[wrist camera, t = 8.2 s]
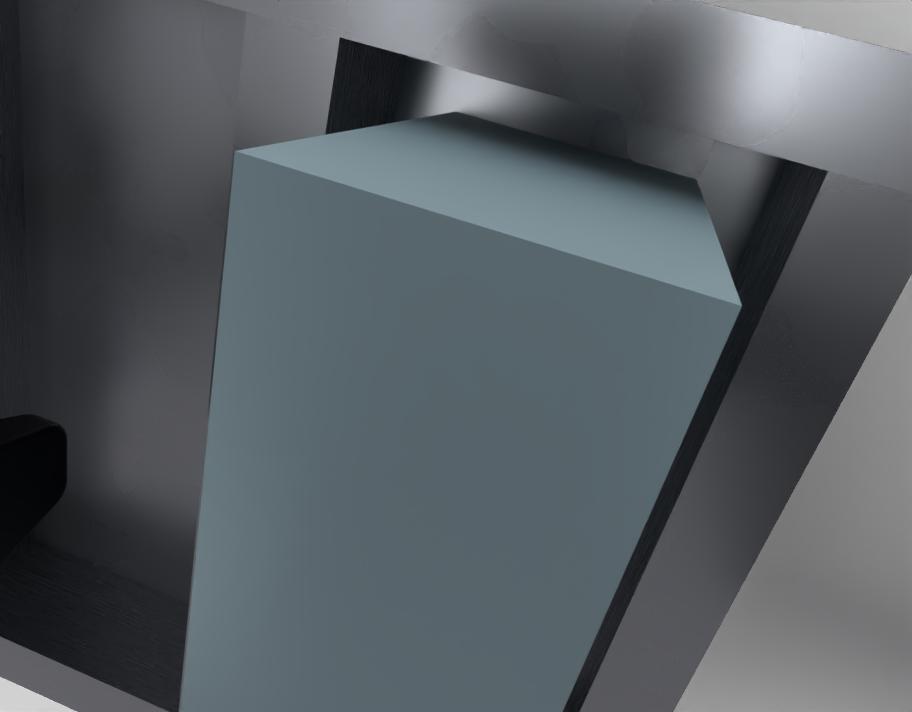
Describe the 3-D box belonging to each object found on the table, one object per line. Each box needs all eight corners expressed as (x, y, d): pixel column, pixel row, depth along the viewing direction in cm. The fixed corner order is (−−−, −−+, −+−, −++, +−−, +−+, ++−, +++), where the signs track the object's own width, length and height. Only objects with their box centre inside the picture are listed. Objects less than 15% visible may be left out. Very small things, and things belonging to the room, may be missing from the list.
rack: (588, 793, 14) (570, 970, 11) (-188, 465, 16) (-355, 542, 14) (943, 89, 8) (1085, 97, 5) (-321, -228, 11) (-646, -329, 8)
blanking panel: (499, 697, 12) (403, 1070, 7) (339, 631, 12) (158, 946, 8) (697, 178, 8) (742, 306, 4) (456, 111, 9) (233, 150, 4)
